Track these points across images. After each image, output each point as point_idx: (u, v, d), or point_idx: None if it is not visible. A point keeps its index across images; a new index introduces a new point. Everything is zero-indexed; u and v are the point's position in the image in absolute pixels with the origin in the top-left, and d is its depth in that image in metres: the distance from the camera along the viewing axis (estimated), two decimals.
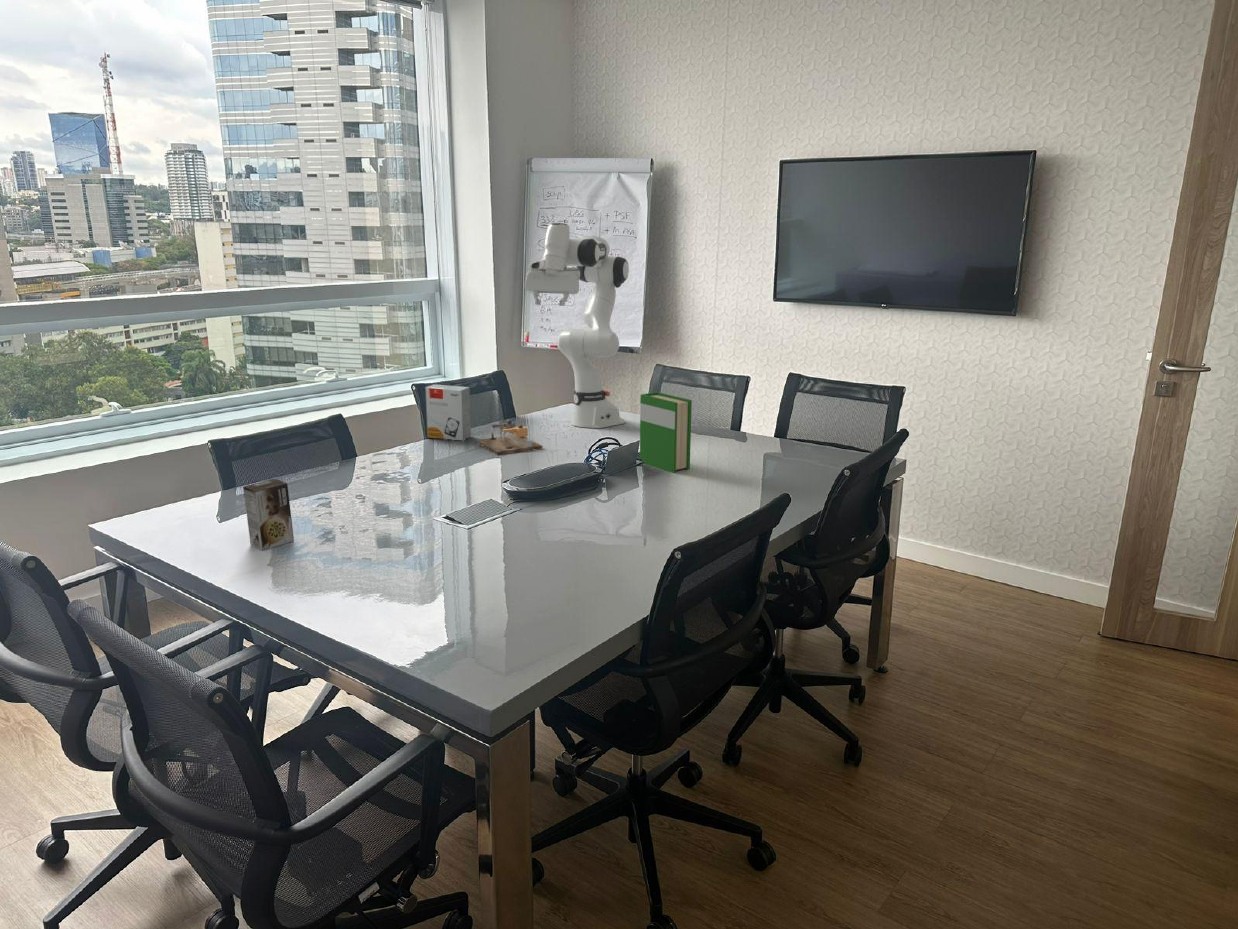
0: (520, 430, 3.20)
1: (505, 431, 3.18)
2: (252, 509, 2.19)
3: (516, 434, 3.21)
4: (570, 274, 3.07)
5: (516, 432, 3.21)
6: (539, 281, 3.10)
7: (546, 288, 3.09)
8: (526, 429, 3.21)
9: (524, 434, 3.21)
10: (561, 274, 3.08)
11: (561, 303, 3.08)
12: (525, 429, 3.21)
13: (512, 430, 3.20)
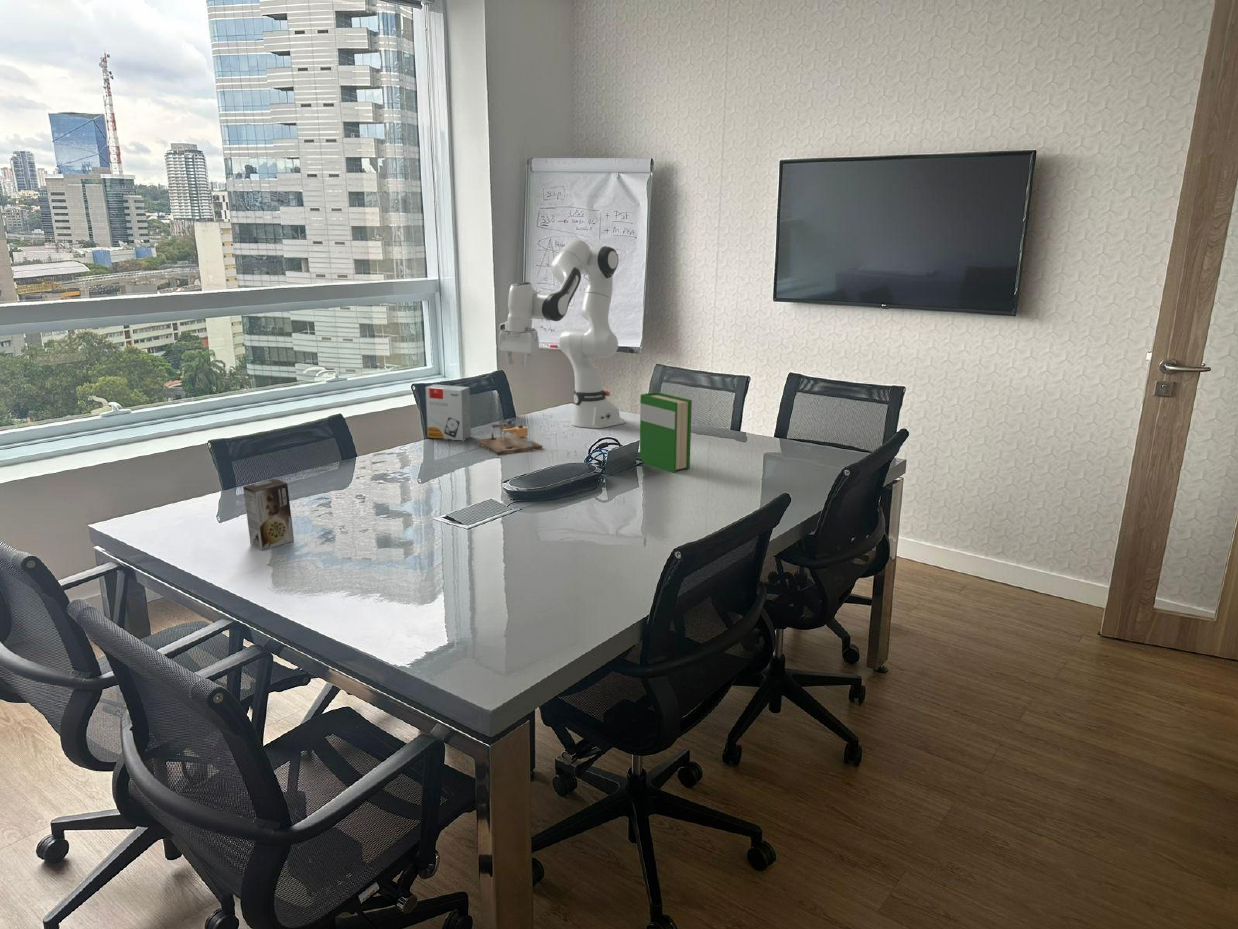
0: (520, 430, 3.20)
1: (505, 431, 3.18)
2: (252, 509, 2.19)
3: (516, 434, 3.21)
4: (527, 336, 3.08)
5: (516, 432, 3.21)
6: (508, 342, 3.17)
7: (512, 350, 3.15)
8: (526, 429, 3.21)
9: (524, 434, 3.21)
10: (521, 335, 3.11)
11: (524, 364, 3.12)
12: (525, 429, 3.21)
13: (512, 430, 3.20)
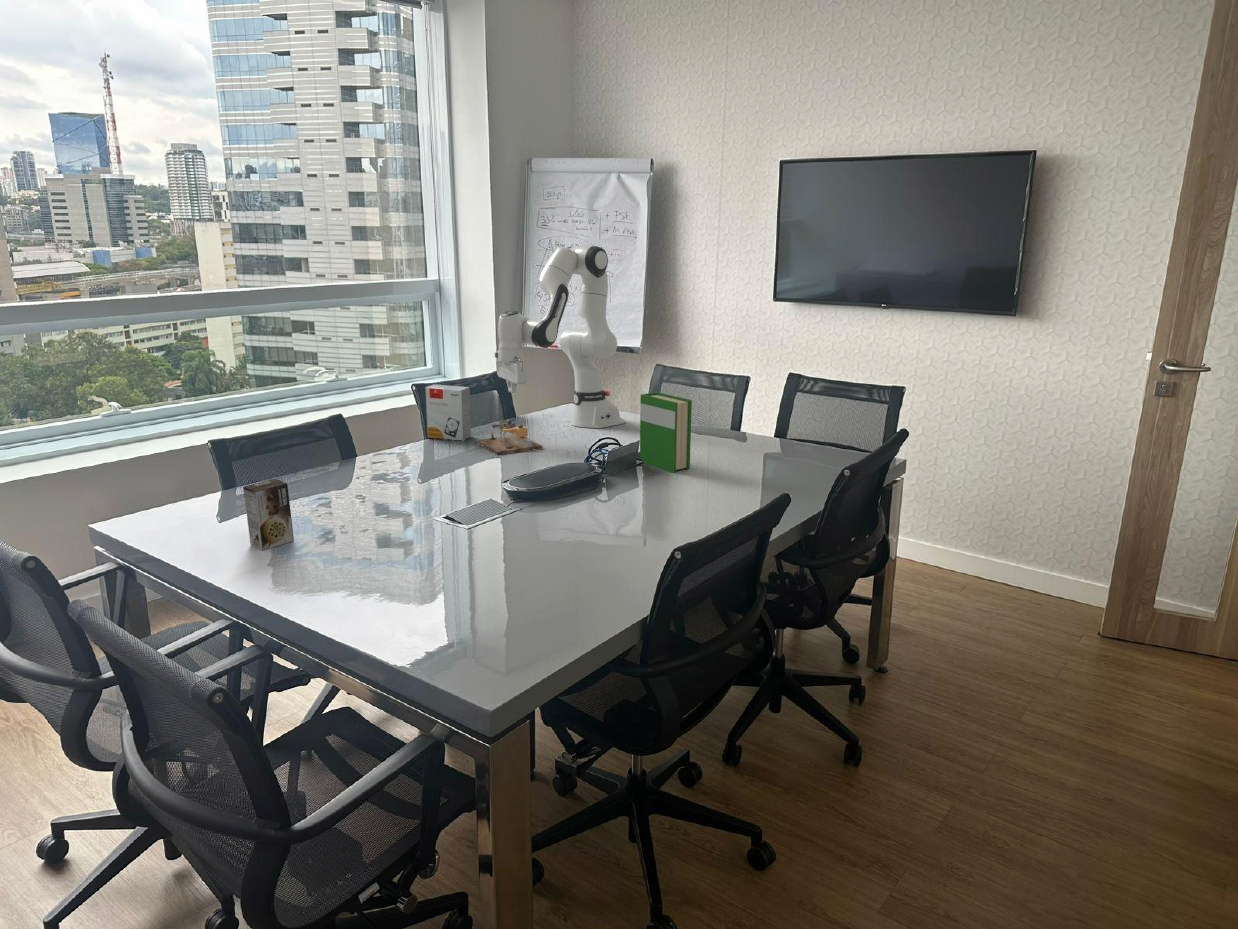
0: (520, 430, 3.20)
1: (505, 431, 3.18)
2: (251, 510, 2.19)
3: (516, 434, 3.21)
4: (515, 367, 3.14)
5: (516, 432, 3.21)
6: (502, 369, 3.25)
7: (506, 377, 3.23)
8: (526, 429, 3.21)
9: (524, 434, 3.21)
10: (511, 365, 3.17)
11: (511, 391, 3.23)
12: (525, 429, 3.21)
13: (512, 430, 3.20)
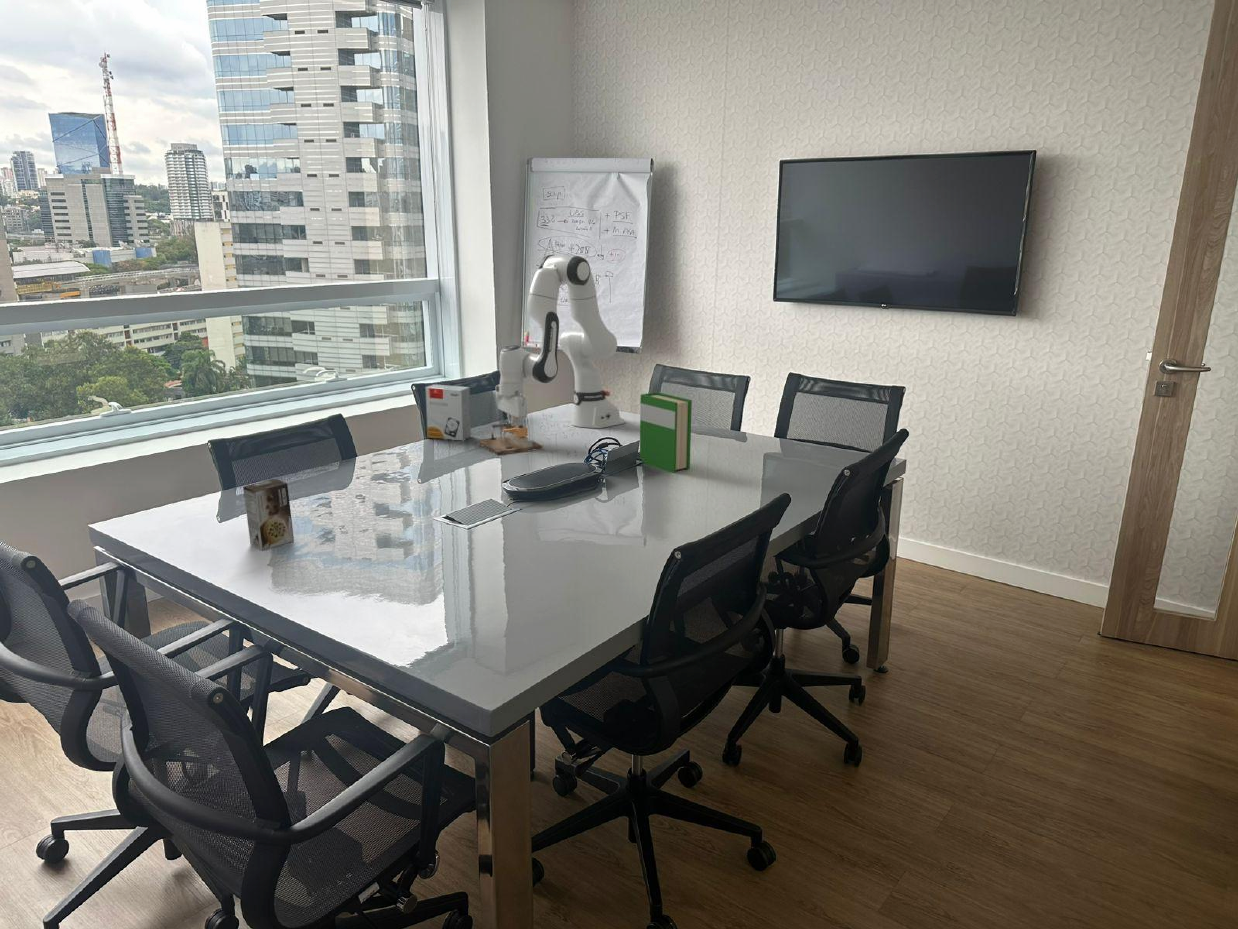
0: (520, 430, 3.20)
1: (505, 431, 3.18)
2: (251, 510, 2.19)
3: (516, 434, 3.21)
4: (515, 401, 3.17)
5: (516, 432, 3.21)
6: (503, 403, 3.28)
7: (506, 411, 3.26)
8: (526, 429, 3.21)
9: (524, 434, 3.21)
10: (511, 399, 3.20)
11: (511, 424, 3.26)
12: (525, 429, 3.21)
13: (512, 430, 3.20)
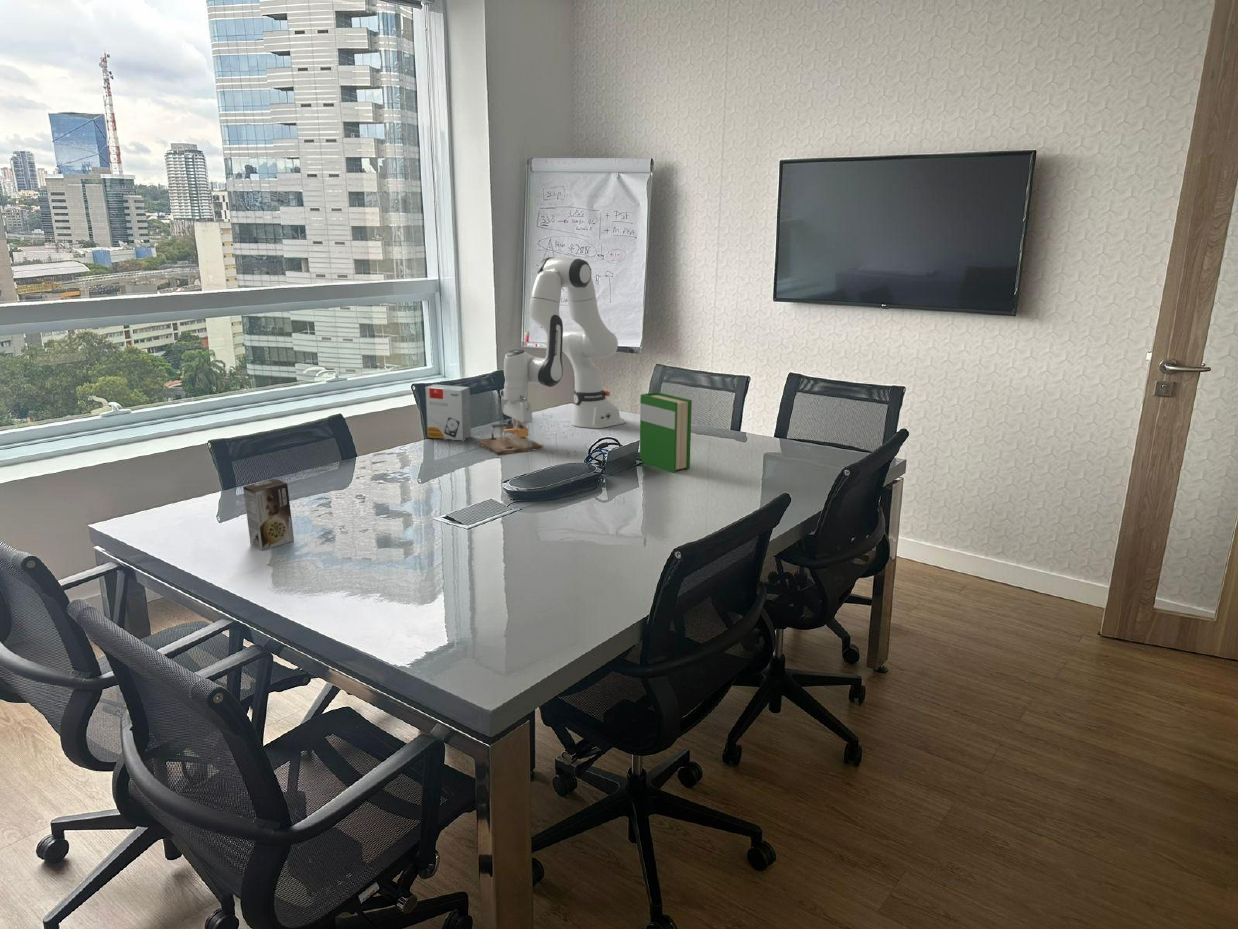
0: (521, 430, 3.20)
1: (506, 431, 3.18)
2: (251, 510, 2.19)
3: (517, 434, 3.20)
4: (520, 406, 3.14)
5: (517, 432, 3.20)
6: (508, 407, 3.25)
7: (511, 416, 3.23)
8: (527, 429, 3.21)
9: (525, 434, 3.21)
10: (516, 404, 3.17)
11: None
12: (526, 429, 3.21)
13: (513, 430, 3.19)
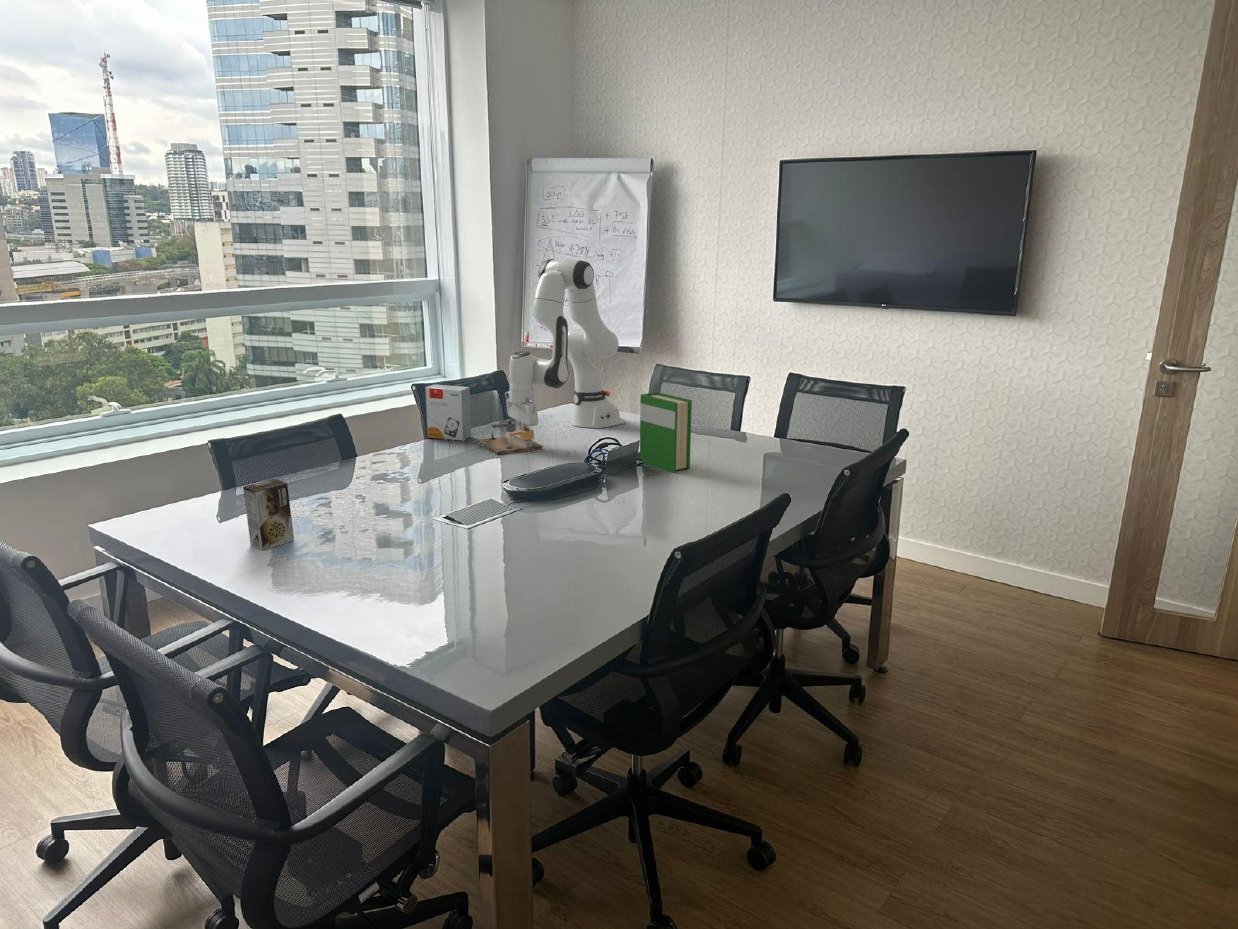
0: (526, 433, 3.16)
1: (511, 434, 3.14)
2: (251, 510, 2.19)
3: (522, 437, 3.16)
4: (526, 408, 3.10)
5: (522, 435, 3.16)
6: (513, 410, 3.21)
7: (516, 418, 3.19)
8: (532, 432, 3.17)
9: (530, 437, 3.17)
10: (522, 406, 3.13)
11: None
12: (531, 432, 3.17)
13: (518, 433, 3.15)
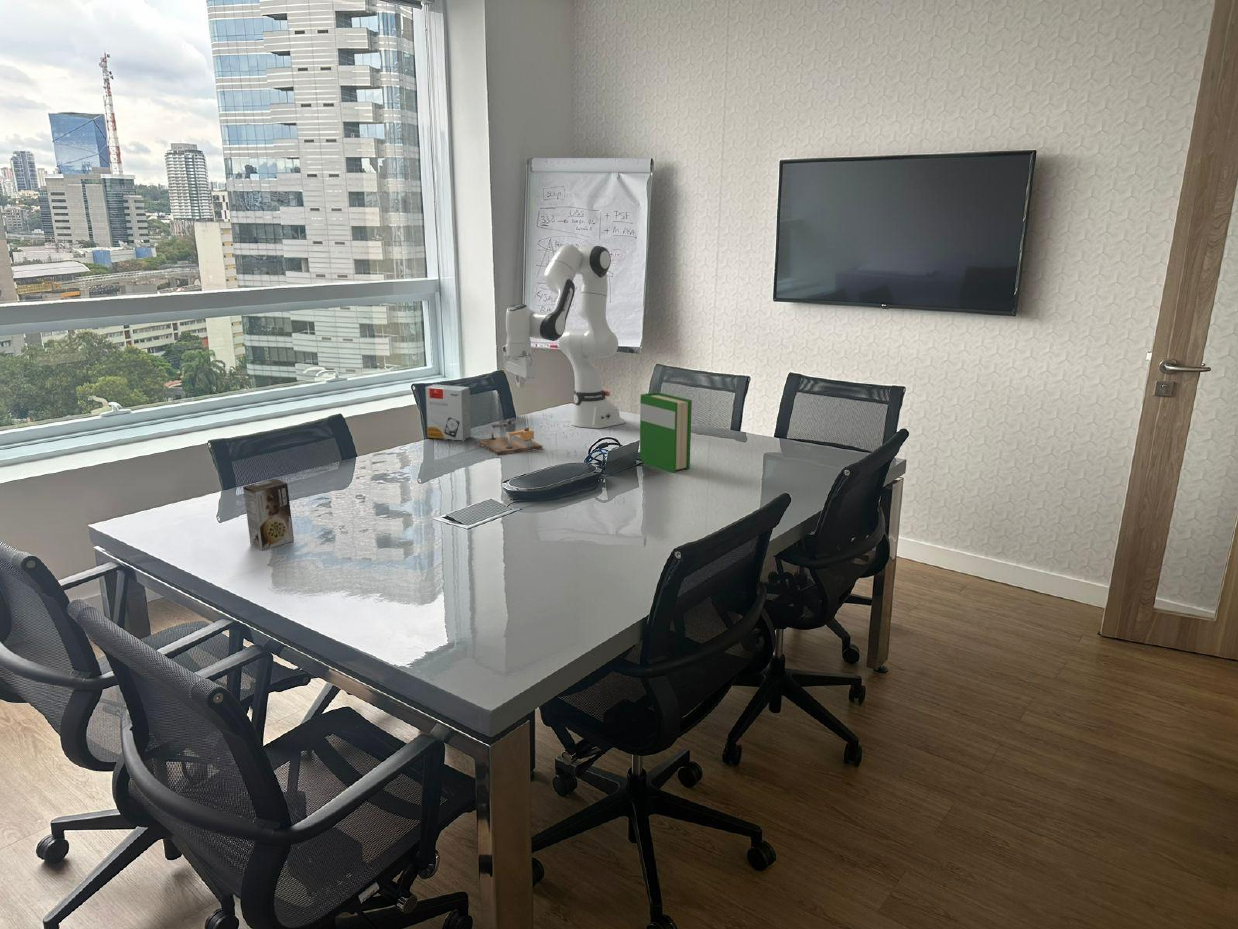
0: (526, 433, 3.16)
1: (511, 434, 3.14)
2: (252, 510, 2.19)
3: (522, 437, 3.16)
4: (523, 361, 3.10)
5: (522, 435, 3.16)
6: (510, 364, 3.20)
7: (514, 372, 3.18)
8: (532, 432, 3.17)
9: (530, 437, 3.17)
10: (519, 360, 3.13)
11: (519, 386, 3.19)
12: (531, 432, 3.17)
13: (518, 433, 3.15)
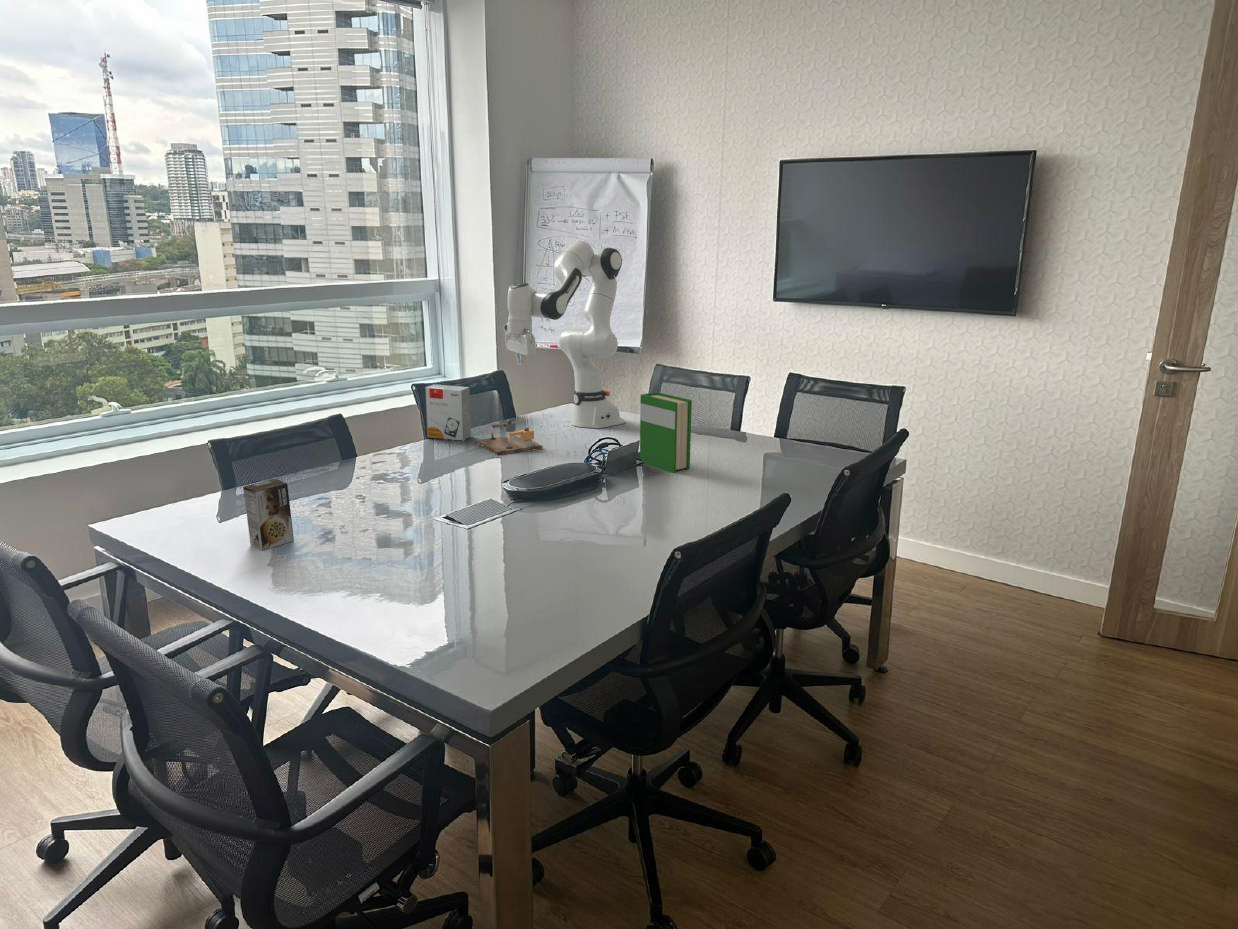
0: (526, 433, 3.16)
1: (511, 434, 3.14)
2: (252, 510, 2.19)
3: (522, 437, 3.16)
4: (524, 338, 3.13)
5: (522, 435, 3.16)
6: (511, 342, 3.24)
7: (515, 350, 3.22)
8: (532, 432, 3.17)
9: (530, 437, 3.17)
10: (520, 337, 3.16)
11: (519, 363, 3.22)
12: (531, 432, 3.17)
13: (518, 433, 3.15)
